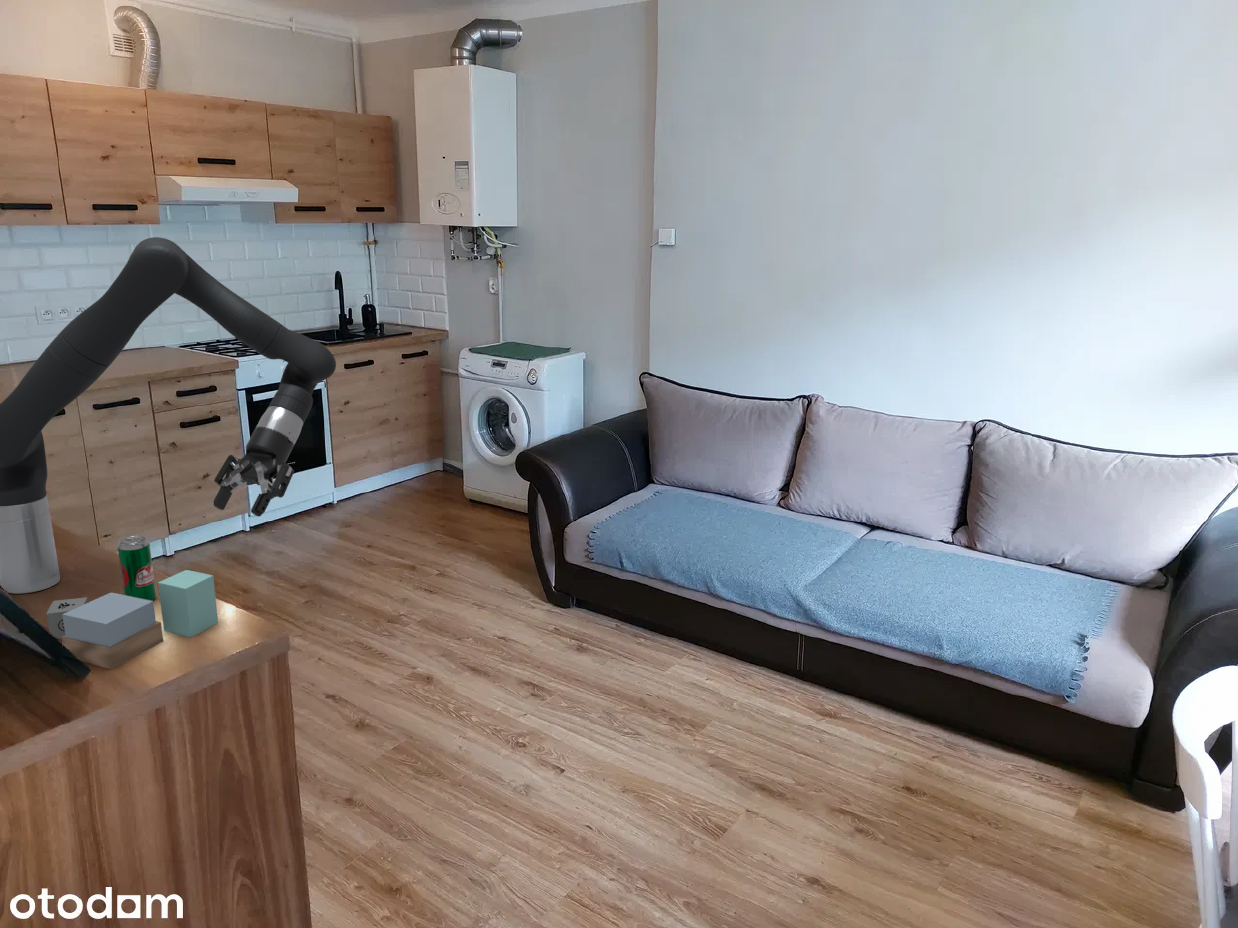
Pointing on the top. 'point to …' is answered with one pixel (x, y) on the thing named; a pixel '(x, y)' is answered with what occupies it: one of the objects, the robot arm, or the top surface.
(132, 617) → the slate block
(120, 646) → the walnut block
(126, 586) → the soda can
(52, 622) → the dice cube
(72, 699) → the top surface
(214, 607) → the teal square block
